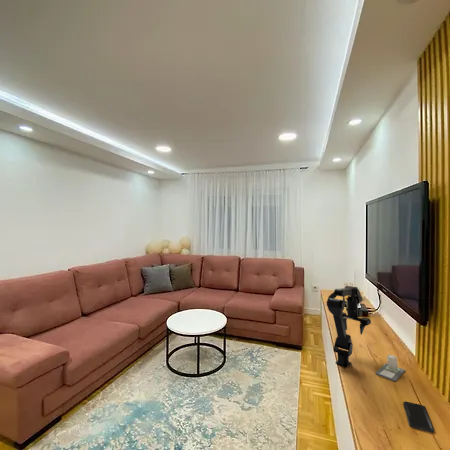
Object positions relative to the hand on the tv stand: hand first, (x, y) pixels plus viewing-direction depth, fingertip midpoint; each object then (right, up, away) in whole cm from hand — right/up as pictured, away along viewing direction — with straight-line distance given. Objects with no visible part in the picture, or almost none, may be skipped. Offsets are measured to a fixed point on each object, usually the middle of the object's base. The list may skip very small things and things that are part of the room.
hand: (353, 332), depth 158 cm
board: (+8, -12, -23) cm, 27 cm away
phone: (-1, -12, -54) cm, 55 cm away
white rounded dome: (+10, -11, -21) cm, 26 cm away
